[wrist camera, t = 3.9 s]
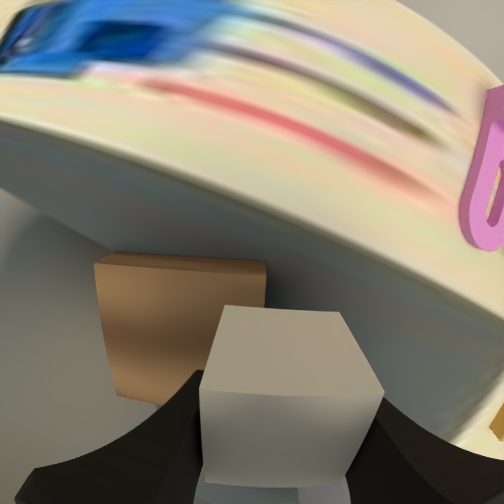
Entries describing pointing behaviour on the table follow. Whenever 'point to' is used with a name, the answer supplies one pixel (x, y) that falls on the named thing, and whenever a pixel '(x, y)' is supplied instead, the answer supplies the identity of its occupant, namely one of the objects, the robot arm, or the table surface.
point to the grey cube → (284, 399)
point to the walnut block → (167, 315)
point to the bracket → (486, 180)
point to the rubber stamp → (498, 424)
